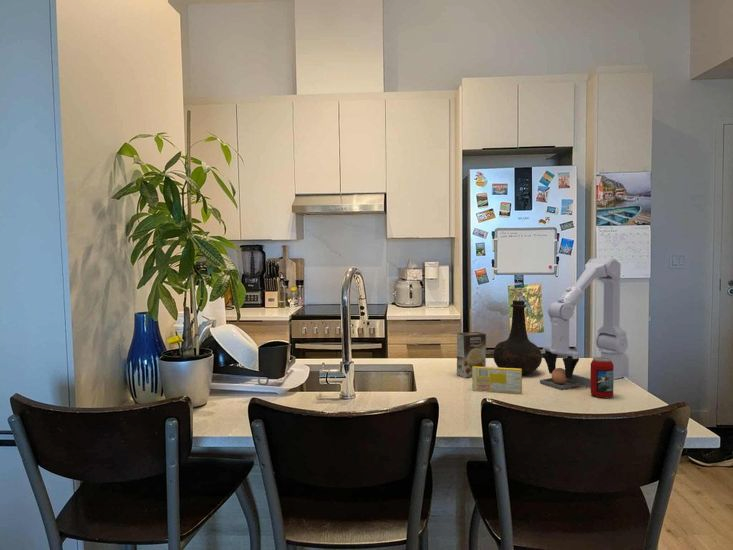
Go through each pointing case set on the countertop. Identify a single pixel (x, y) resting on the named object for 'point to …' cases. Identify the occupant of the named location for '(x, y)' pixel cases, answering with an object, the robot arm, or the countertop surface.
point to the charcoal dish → (563, 386)
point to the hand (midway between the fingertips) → (560, 375)
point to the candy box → (497, 379)
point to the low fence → (581, 380)
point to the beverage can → (602, 377)
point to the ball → (559, 376)
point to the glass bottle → (518, 345)
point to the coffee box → (470, 352)
